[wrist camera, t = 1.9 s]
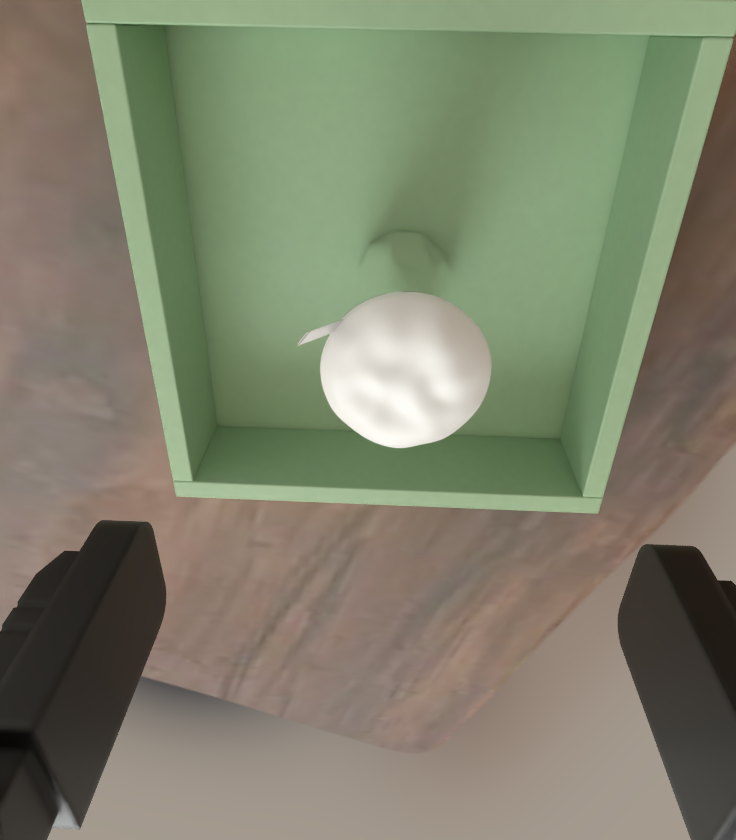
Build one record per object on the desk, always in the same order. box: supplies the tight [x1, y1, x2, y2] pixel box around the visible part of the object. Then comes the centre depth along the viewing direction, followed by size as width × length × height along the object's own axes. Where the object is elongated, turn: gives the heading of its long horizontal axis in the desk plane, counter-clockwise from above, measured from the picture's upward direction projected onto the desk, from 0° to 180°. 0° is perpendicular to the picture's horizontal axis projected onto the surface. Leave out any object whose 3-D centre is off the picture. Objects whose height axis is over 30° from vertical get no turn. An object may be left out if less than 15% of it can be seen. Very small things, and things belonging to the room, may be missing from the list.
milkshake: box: [297, 231, 492, 448], centre depth 19 cm, size 5×5×10 cm
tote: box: [81, 0, 736, 513], centre depth 22 cm, size 17×17×5 cm
